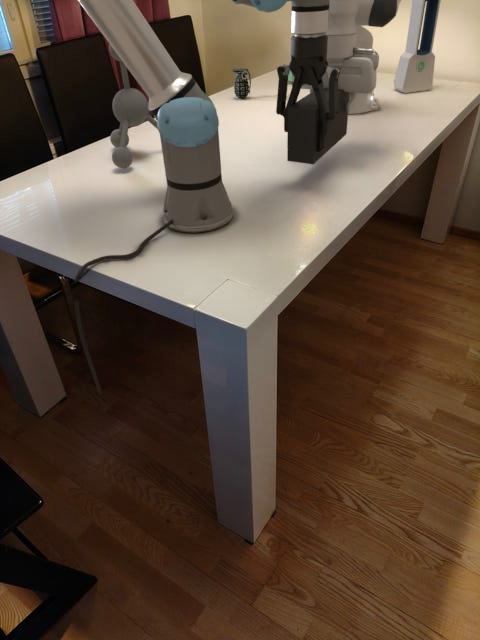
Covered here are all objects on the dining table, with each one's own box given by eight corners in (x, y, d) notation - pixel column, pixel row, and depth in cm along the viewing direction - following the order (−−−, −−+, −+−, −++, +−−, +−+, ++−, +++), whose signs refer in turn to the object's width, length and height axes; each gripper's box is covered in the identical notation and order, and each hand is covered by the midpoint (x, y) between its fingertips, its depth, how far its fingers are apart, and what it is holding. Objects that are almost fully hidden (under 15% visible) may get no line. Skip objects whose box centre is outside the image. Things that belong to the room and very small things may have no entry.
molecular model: (194, 159, 136) (181, 36, 117) (116, 174, 130) (89, 47, 112) (172, 136, 153) (158, 26, 135) (102, 148, 148) (77, 35, 129)
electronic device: (402, 93, 181) (416, -3, 162) (392, 89, 186) (404, -5, 168) (432, 89, 183) (449, -6, 165) (421, 85, 189) (436, -8, 170)
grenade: (232, 99, 186) (230, 70, 180) (236, 95, 190) (234, 67, 184) (249, 99, 184) (248, 70, 178) (252, 96, 189) (251, 67, 182)
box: (313, 164, 111) (315, 109, 104) (287, 160, 114) (287, 107, 107) (346, 134, 127) (350, 85, 120) (322, 131, 130) (325, 83, 123)
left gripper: (361, 32, 98) (351, 147, 112) (274, 30, 106) (274, 138, 120) (349, 38, 93) (340, 158, 107) (258, 36, 101) (260, 148, 115)
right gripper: (383, 46, 112) (376, 109, 120) (301, 43, 120) (299, 103, 129) (376, 51, 108) (369, 116, 116) (291, 48, 116) (290, 109, 124)
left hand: (305, 147), depth 113 cm, fingers closed on box, 6 cm apart
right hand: (332, 109), depth 122 cm, fingers closed on box, 6 cm apart
